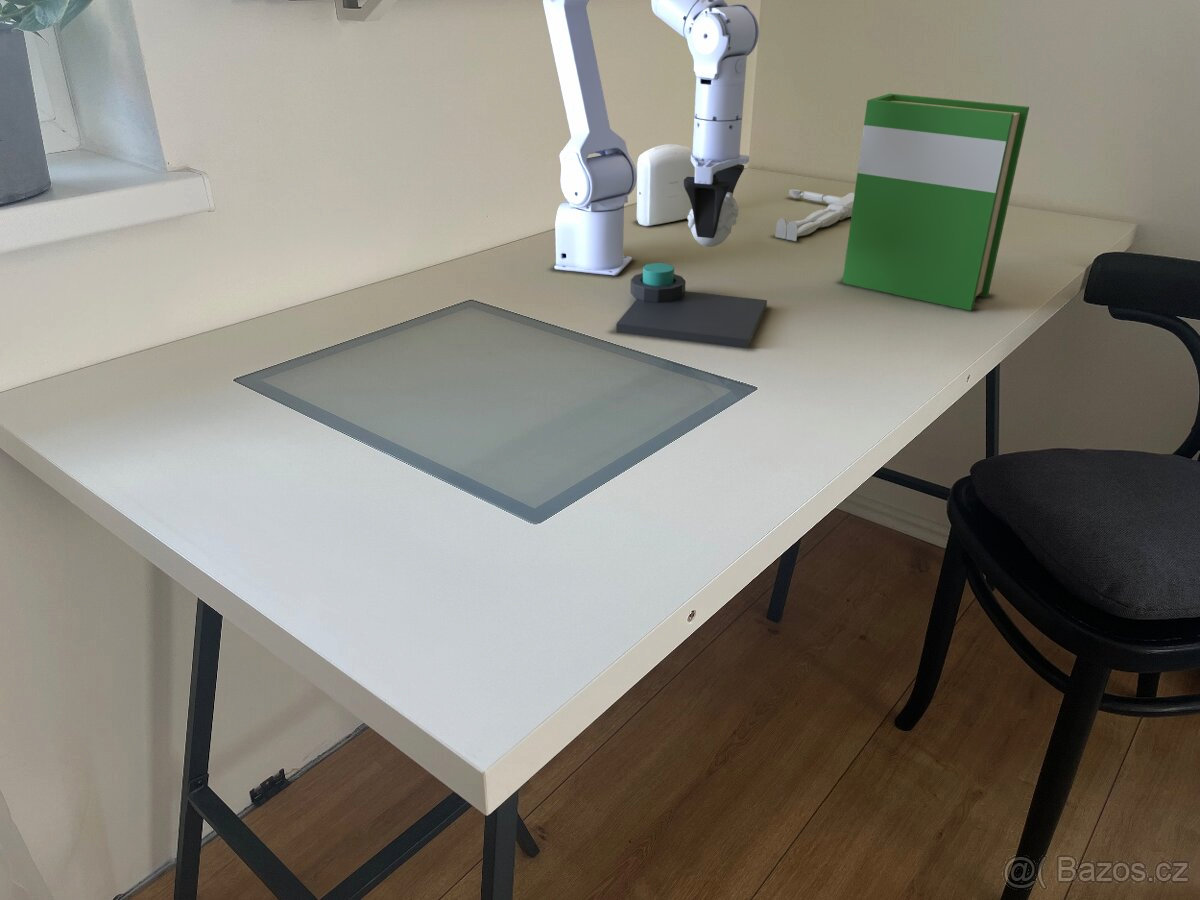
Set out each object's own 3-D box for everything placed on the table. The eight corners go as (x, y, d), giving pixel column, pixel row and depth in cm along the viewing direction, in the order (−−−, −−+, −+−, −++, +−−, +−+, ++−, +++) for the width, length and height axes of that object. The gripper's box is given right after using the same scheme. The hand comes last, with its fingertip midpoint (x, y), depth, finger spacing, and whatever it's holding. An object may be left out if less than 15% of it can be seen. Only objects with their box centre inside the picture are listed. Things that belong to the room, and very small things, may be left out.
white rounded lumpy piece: (746, 244, 119) (751, 189, 115) (712, 256, 114) (716, 199, 111) (709, 235, 122) (712, 181, 119) (675, 246, 118) (677, 190, 114)
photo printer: (647, 228, 152) (649, 150, 146) (632, 222, 155) (633, 146, 149) (696, 219, 157) (700, 143, 151) (680, 213, 160) (684, 139, 154)
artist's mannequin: (715, 205, 153) (809, 170, 172) (714, 227, 155) (807, 190, 174) (866, 236, 137) (950, 194, 156) (863, 261, 139) (947, 216, 158)
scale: (604, 331, 112) (604, 307, 111) (639, 291, 125) (639, 269, 124) (747, 348, 107) (749, 324, 106) (768, 305, 120) (770, 283, 119)
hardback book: (988, 295, 124) (1029, 106, 112) (970, 310, 119) (1011, 114, 107) (863, 270, 133) (889, 93, 122) (842, 283, 128) (867, 100, 116)
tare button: (639, 286, 119) (639, 270, 118) (647, 276, 122) (647, 261, 121) (669, 289, 118) (669, 273, 117) (676, 279, 121) (677, 264, 120)
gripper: (741, 129, 104) (732, 248, 110) (761, 109, 116) (752, 217, 122) (679, 126, 105) (674, 243, 112) (705, 106, 118) (699, 213, 124)
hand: (711, 229), depth 117 cm, fingers closed on white rounded lumpy piece, 6 cm apart
